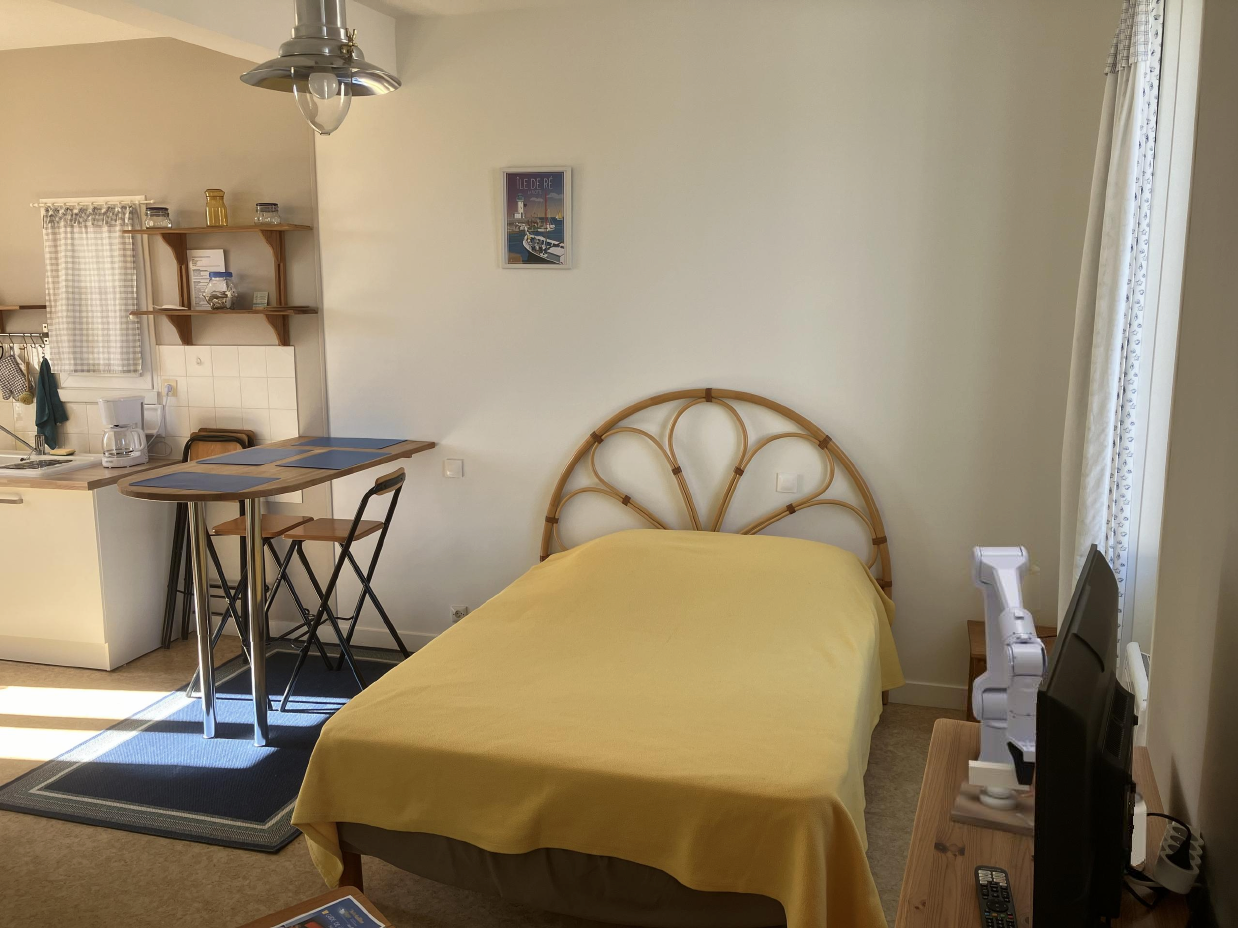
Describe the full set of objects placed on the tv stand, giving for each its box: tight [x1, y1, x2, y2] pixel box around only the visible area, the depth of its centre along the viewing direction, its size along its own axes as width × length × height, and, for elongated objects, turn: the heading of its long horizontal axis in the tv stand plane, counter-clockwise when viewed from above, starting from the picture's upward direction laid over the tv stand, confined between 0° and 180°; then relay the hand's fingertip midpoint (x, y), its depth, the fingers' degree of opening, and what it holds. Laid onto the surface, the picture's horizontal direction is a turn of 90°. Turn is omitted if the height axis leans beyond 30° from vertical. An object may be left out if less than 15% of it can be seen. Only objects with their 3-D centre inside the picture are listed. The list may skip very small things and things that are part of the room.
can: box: [1129, 790, 1147, 866], centre depth 153 cm, size 6×6×12 cm
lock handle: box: [968, 760, 1030, 798], centre depth 172 cm, size 10×4×5 cm, turn 71°
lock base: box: [950, 776, 1035, 837], centre depth 172 cm, size 15×14×3 cm
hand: (1024, 783), depth 169 cm, fingers closed, pressing on lock handle
